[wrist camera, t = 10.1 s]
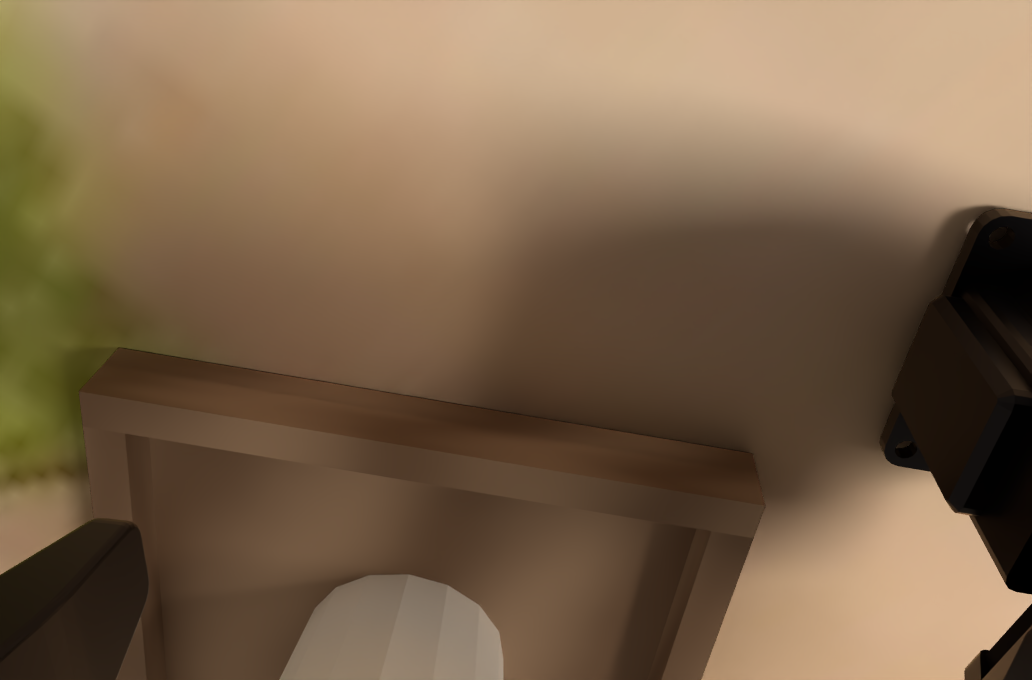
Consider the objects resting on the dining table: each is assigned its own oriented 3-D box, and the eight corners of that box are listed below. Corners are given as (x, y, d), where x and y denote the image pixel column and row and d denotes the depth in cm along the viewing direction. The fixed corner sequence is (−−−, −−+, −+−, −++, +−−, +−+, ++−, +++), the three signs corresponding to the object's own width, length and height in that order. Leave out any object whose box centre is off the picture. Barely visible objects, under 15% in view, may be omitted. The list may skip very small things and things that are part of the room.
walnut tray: (752, 453, 23) (765, 505, 21) (622, 828, 31) (623, 888, 29) (118, 348, 23) (78, 391, 21) (154, 751, 31) (127, 806, 29)
